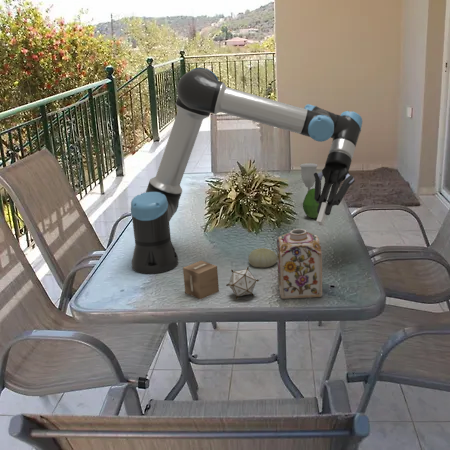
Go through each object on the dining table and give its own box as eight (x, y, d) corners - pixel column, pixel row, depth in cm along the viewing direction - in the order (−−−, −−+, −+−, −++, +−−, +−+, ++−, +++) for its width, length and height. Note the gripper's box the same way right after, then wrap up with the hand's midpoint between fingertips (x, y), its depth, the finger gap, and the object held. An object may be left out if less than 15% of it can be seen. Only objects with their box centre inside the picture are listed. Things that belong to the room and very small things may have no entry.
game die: (248, 309, 167) (255, 292, 159) (220, 298, 167) (225, 280, 159) (257, 284, 172) (264, 266, 164) (230, 274, 173) (236, 255, 165)
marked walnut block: (184, 293, 171) (182, 267, 169) (203, 285, 176) (201, 259, 173) (200, 299, 166) (198, 273, 164) (218, 291, 171) (217, 265, 168)
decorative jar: (322, 298, 162) (322, 237, 157) (280, 300, 163) (278, 239, 157) (317, 280, 174) (316, 223, 168) (277, 282, 174) (275, 225, 169)
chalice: (320, 206, 245) (320, 164, 239) (314, 210, 240) (313, 167, 234) (304, 204, 249) (304, 162, 243) (297, 208, 243) (296, 166, 238)
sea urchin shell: (271, 266, 182) (254, 246, 183) (256, 279, 186) (240, 260, 188) (284, 255, 189) (268, 237, 190) (269, 269, 194) (254, 250, 195)
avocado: (323, 214, 234) (323, 185, 230) (323, 220, 226) (323, 190, 223) (303, 214, 235) (302, 185, 231) (302, 220, 228) (301, 191, 224)
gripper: (363, 164, 183) (344, 231, 175) (324, 162, 189) (303, 226, 181) (357, 151, 177) (337, 219, 169) (317, 149, 183) (296, 215, 175)
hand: (320, 223), depth 175 cm, fingers closed
